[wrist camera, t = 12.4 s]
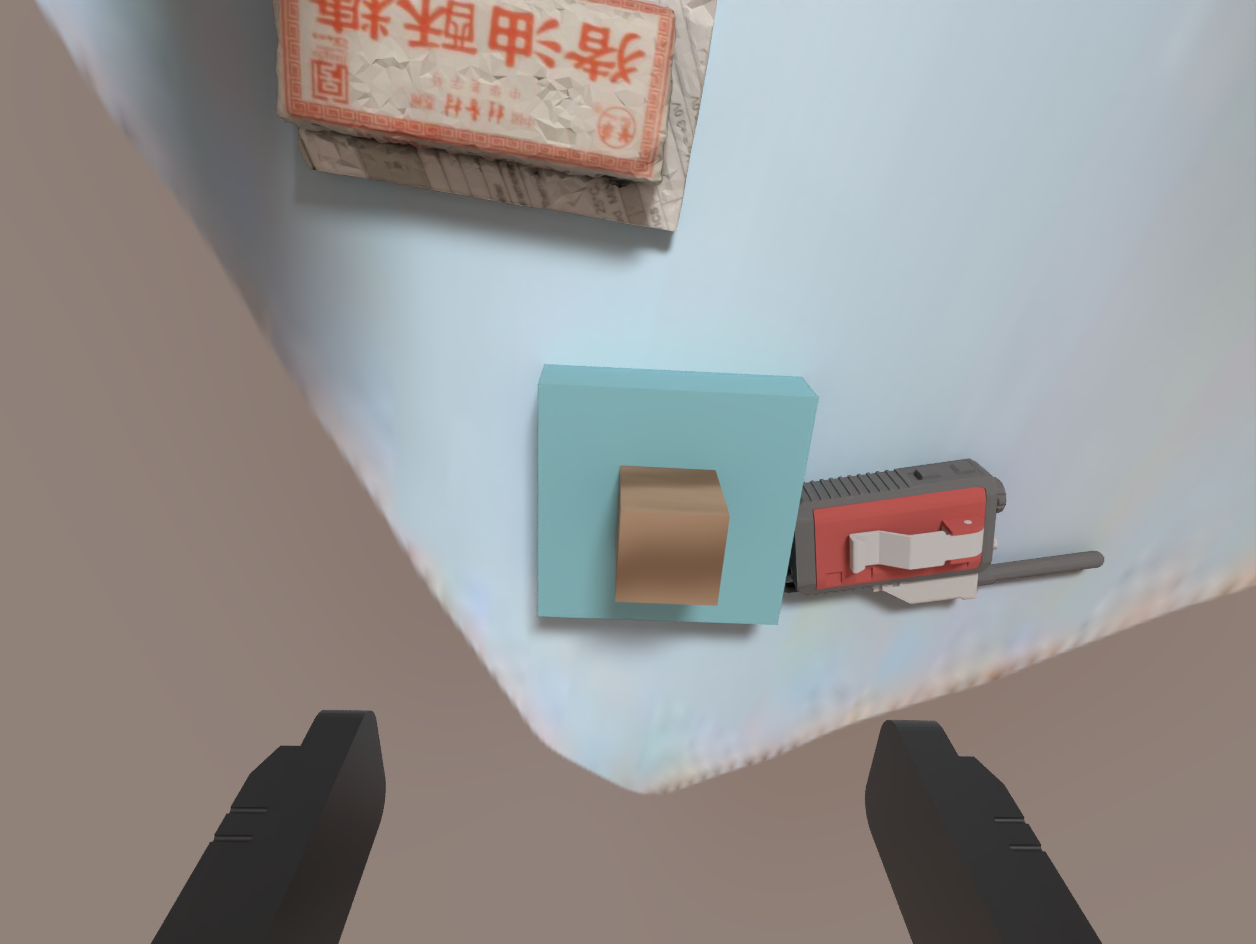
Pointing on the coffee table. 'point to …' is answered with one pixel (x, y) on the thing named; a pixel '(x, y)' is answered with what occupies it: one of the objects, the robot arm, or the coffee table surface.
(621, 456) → the teal base block
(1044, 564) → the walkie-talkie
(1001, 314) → the coffee table surface
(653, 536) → the walnut block
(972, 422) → the coffee table surface
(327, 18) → the packaged product
